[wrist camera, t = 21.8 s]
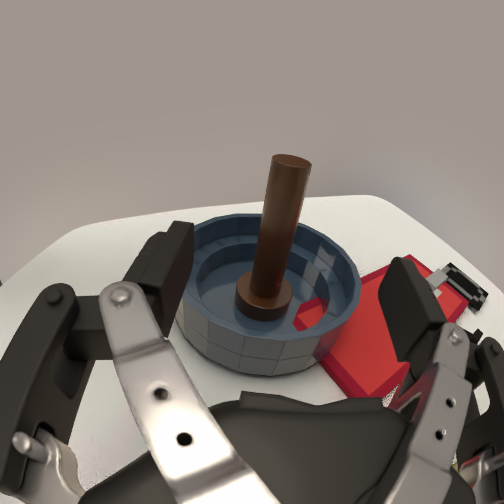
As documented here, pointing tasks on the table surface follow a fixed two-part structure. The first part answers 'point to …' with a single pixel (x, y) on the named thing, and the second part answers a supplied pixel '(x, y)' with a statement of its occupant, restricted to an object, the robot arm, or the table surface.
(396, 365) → the red board with handle
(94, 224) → the table surface
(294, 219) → the brown cylinder
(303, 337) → the bowl
